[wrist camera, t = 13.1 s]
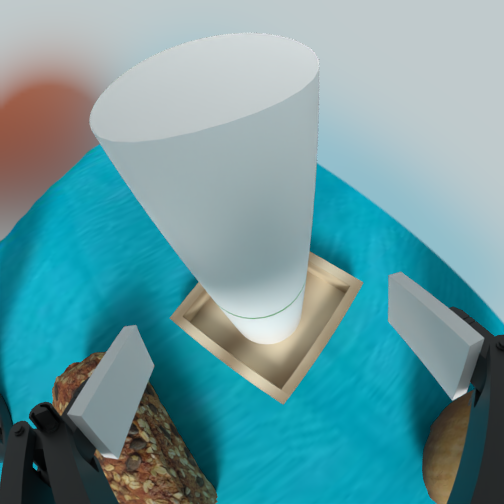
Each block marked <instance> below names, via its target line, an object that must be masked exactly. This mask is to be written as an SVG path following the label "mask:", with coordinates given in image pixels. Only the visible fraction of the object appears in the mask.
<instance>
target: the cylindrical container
mask: <svg viewBox="0 0 504 504" xmlns="http://www.w3.org/2000/svg"><path fill="white" fill-rule="evenodd" d="M318 119H319V59H318V57H317V56H316V54H315V53H314V51H312V50H311V49H310V48H308V47H307V46H306V45H304V44H302V43H300V42H298V41H296V40H293V39H290V38H286V37H283V36H277V35H271V34H262V33H234V34H225V35H217V36H211V37H206V38H202V39H198V40H194V41H190V42H187V43H183V44H180V45H177V46H175V47H172V48H169V49H167V50H164V51H162V52H160V53H158V54H155V55H153V56H151V57H150V58H148V59H146V60H144V61H142V62H140V63H139V64H137V65H135V66H134V67H133V68H131V69H129V70H128V71H126V72H125V73H124V74H123V75H121V76H120V77H119V78H118V79H116V80H115V81H114V82H113V83H112V84H111V85H110V86H109V87H108V88H107V89H106V90H105V91H104V92H103V93H102V94H101V96H100V97H99V99H98V100H97V101H96V103H95V105H94V107H93V109H92V111H91V113H90V121H89V123H90V126H91V129H92V132H93V133H94V135H95V136H96V138H97V140H98V141H99V142H100V144H101V146H102V147H103V149H104V151H105V152H106V154H107V155H108V157H109V158H110V160H111V161H112V163H113V164H114V166H115V167H116V169H117V170H118V172H119V173H120V175H121V176H122V178H123V179H124V181H125V182H126V184H127V185H128V187H129V188H130V190H131V191H132V192H133V194H134V195H135V197H136V198H137V200H138V201H139V203H140V204H141V205H142V207H143V208H144V210H145V211H146V212H147V214H148V215H149V217H150V218H151V219H152V221H153V222H154V223H155V225H156V226H157V228H158V229H159V230H160V232H161V233H162V234H163V236H164V237H165V238H166V240H167V241H168V242H169V244H170V245H171V246H172V248H173V249H174V250H175V252H176V253H177V254H178V256H179V257H180V258H181V260H182V261H183V262H184V263H185V265H186V266H187V267H188V269H189V270H190V271H191V272H192V274H193V275H194V276H195V278H196V279H197V280H198V281H199V283H200V284H201V285H202V286H203V288H204V289H205V290H206V291H207V293H208V294H209V295H210V296H211V298H212V299H213V300H214V301H215V303H216V304H217V305H218V306H219V307H220V309H221V310H222V311H223V312H224V313H225V315H226V316H227V317H228V318H229V319H230V321H231V322H232V323H233V324H234V325H235V327H236V328H237V329H238V330H239V331H240V332H241V334H243V335H244V336H245V337H246V338H247V339H249V340H250V341H252V342H255V343H258V344H265V345H267V344H275V343H279V342H281V341H283V340H285V339H286V338H288V337H289V336H290V335H291V334H292V333H293V332H294V331H295V330H296V328H297V327H298V325H299V322H300V319H301V314H302V307H303V300H304V292H305V284H306V277H307V268H308V259H309V250H310V240H311V230H312V219H313V207H314V194H315V180H316V164H317V144H318Z"/></svg>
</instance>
